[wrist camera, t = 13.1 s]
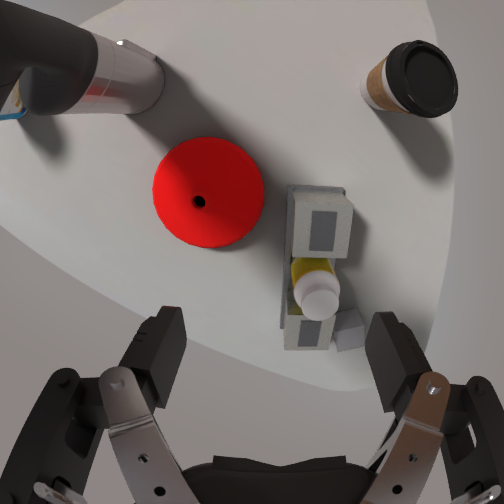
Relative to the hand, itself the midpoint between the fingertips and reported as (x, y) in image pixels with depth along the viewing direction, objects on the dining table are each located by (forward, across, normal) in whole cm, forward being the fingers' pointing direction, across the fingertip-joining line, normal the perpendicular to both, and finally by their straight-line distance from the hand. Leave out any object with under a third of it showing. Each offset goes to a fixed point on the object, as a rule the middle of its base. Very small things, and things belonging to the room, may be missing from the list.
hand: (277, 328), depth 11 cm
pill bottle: (+30, -6, +12) cm, 32 cm away
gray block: (+30, -14, +24) cm, 41 cm away
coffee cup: (+30, -15, -15) cm, 37 cm away
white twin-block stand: (+30, -6, +12) cm, 33 cm away
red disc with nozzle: (+30, +9, +1) cm, 32 cm away
